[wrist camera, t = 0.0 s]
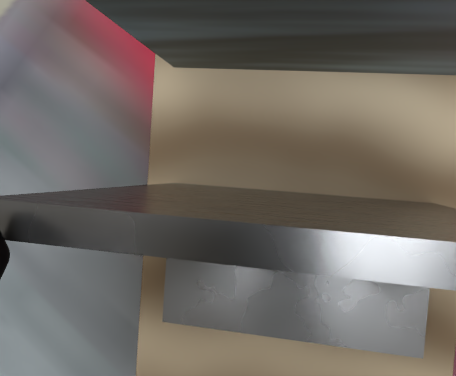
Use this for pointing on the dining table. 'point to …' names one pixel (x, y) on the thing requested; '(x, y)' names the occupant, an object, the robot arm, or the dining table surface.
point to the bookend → (265, 256)
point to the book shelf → (297, 143)
